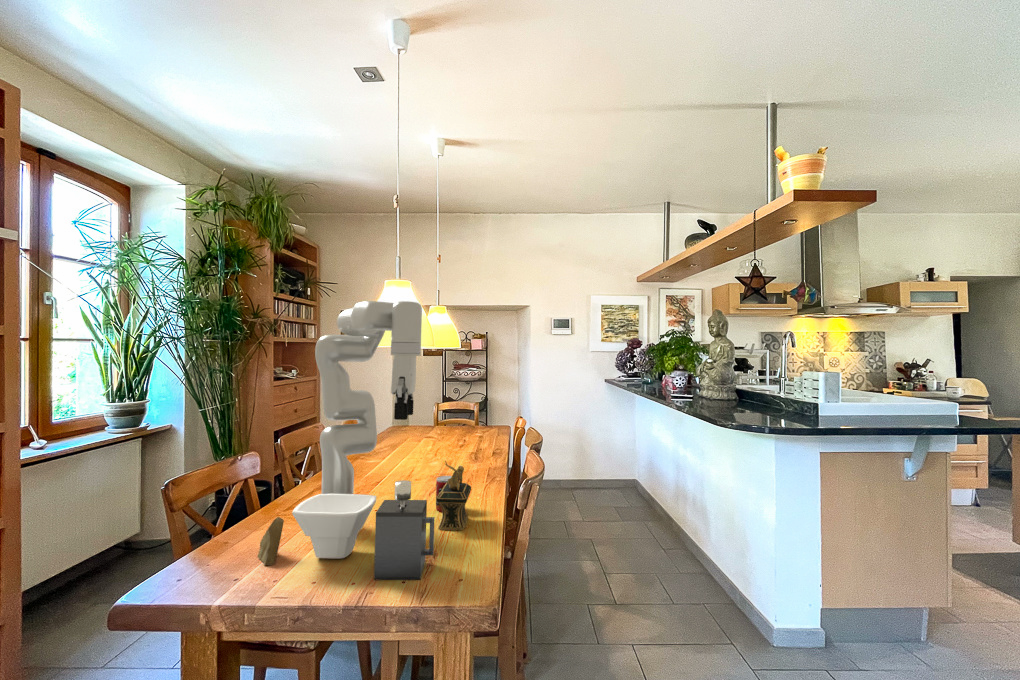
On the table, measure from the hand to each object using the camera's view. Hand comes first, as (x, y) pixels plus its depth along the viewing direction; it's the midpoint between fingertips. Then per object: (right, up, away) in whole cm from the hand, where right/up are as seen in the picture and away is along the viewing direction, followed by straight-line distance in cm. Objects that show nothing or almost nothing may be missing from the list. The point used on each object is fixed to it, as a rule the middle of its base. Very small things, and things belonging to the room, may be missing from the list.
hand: (403, 417), depth 131 cm
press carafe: (+1, -38, -2) cm, 38 cm away
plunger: (0, -37, -2) cm, 37 cm away
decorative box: (+9, -40, +33) cm, 53 cm away
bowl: (-20, -38, +7) cm, 44 cm away
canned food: (+5, -40, +50) cm, 64 cm away
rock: (-37, -38, +4) cm, 53 cm away
